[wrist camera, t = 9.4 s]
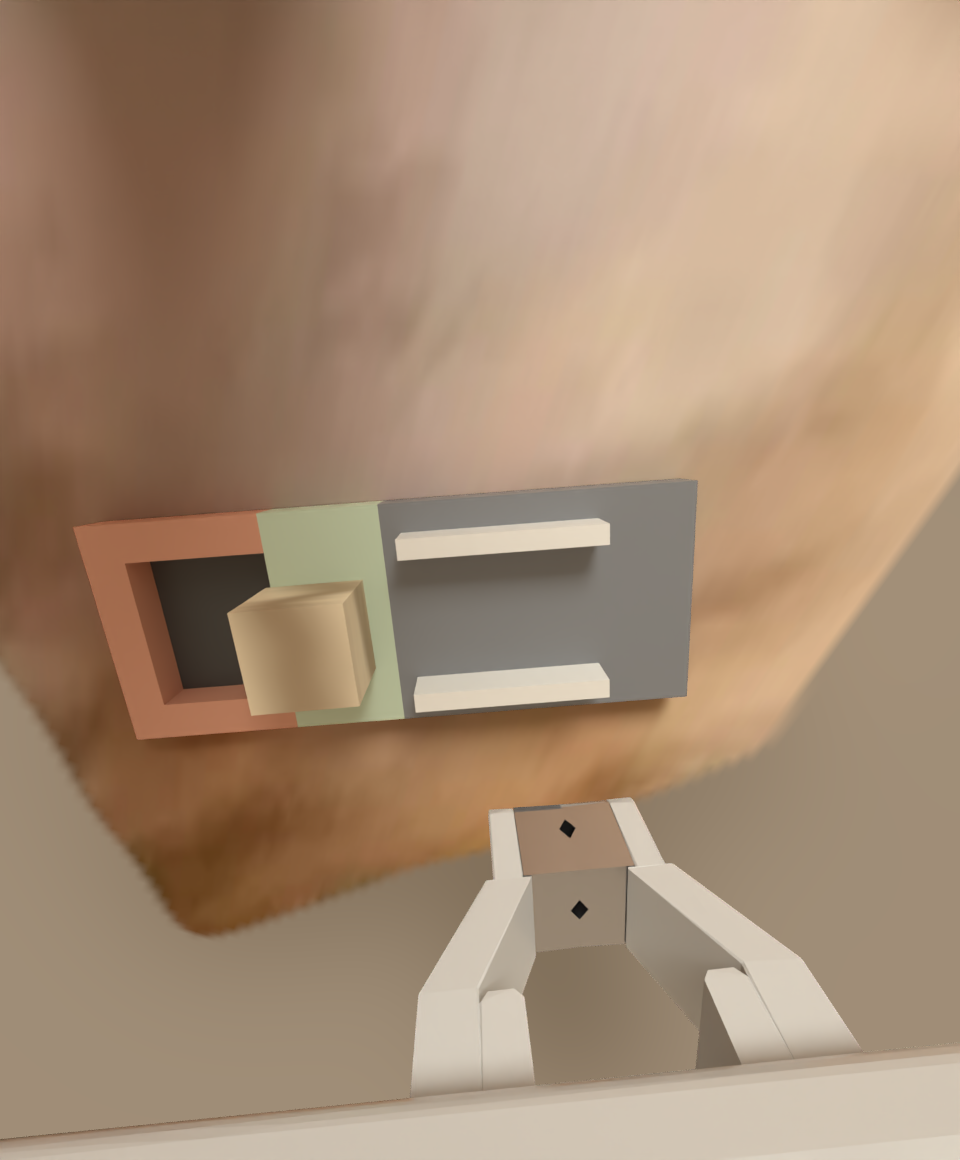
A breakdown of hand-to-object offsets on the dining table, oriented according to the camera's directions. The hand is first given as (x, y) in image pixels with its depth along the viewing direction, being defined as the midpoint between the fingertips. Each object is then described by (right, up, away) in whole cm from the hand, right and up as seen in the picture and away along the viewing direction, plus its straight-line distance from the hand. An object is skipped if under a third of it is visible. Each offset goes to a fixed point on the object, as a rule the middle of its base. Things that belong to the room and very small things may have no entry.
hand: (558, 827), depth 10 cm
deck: (-6, +4, +17) cm, 18 cm away
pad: (-9, +3, +17) cm, 19 cm away
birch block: (-10, +3, +15) cm, 18 cm away
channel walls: (0, +4, +15) cm, 15 cm away
